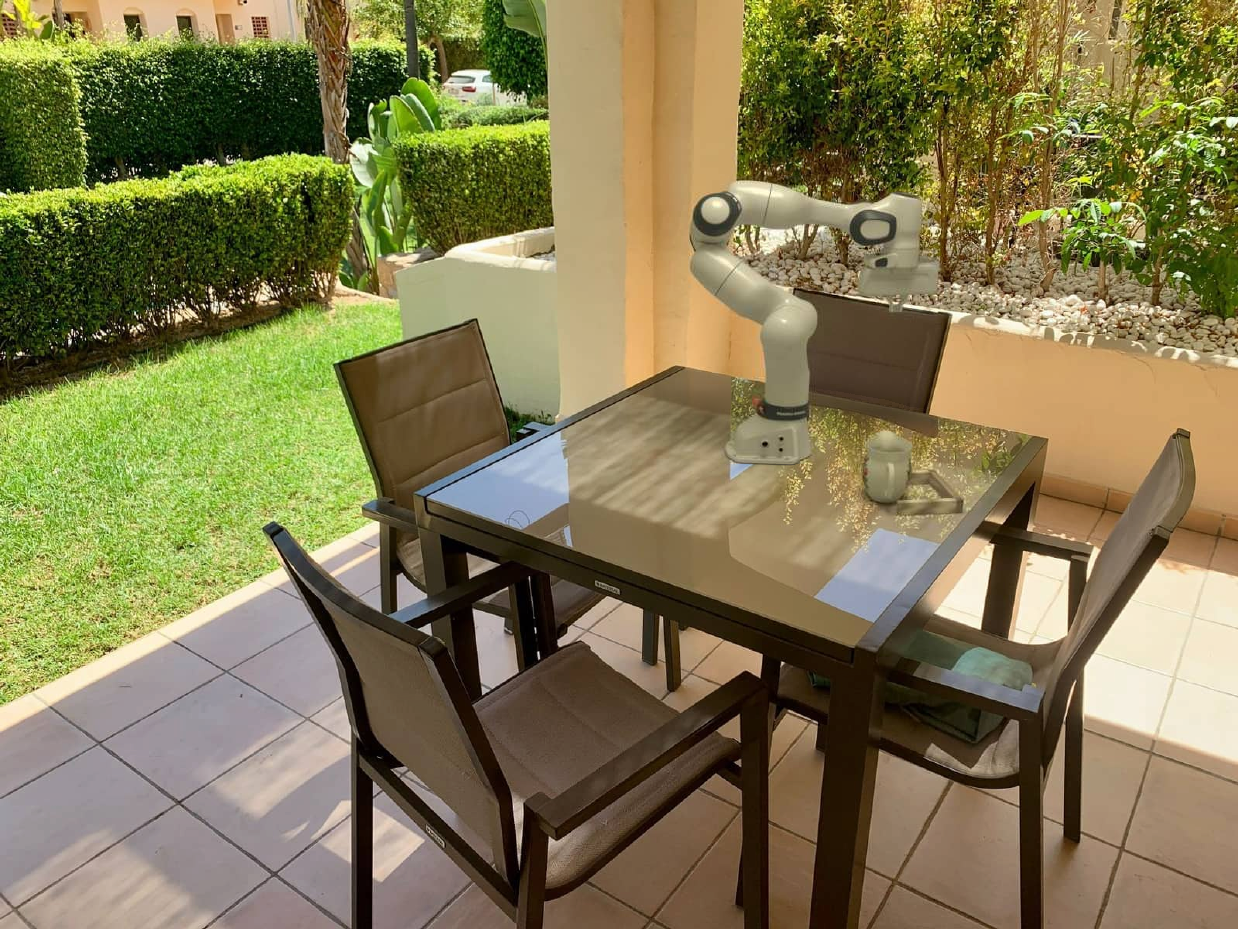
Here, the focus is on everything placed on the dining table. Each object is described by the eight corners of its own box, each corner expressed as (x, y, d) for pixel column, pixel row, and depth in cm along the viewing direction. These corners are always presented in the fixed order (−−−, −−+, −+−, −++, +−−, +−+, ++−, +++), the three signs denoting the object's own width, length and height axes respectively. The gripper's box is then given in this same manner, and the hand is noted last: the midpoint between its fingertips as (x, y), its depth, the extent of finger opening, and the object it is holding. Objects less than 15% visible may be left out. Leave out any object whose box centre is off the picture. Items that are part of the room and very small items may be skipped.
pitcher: (863, 514, 208) (867, 457, 203) (857, 482, 224) (861, 429, 219) (913, 516, 206) (919, 459, 201) (904, 484, 223) (909, 430, 217)
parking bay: (898, 515, 207) (899, 503, 206) (873, 483, 224) (874, 472, 223) (962, 512, 208) (963, 500, 206) (933, 481, 224) (934, 469, 223)
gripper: (936, 254, 240) (930, 307, 245) (857, 257, 239) (853, 310, 244) (945, 258, 234) (939, 312, 239) (865, 261, 233) (860, 315, 238)
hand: (895, 311), depth 242 cm, fingers closed
